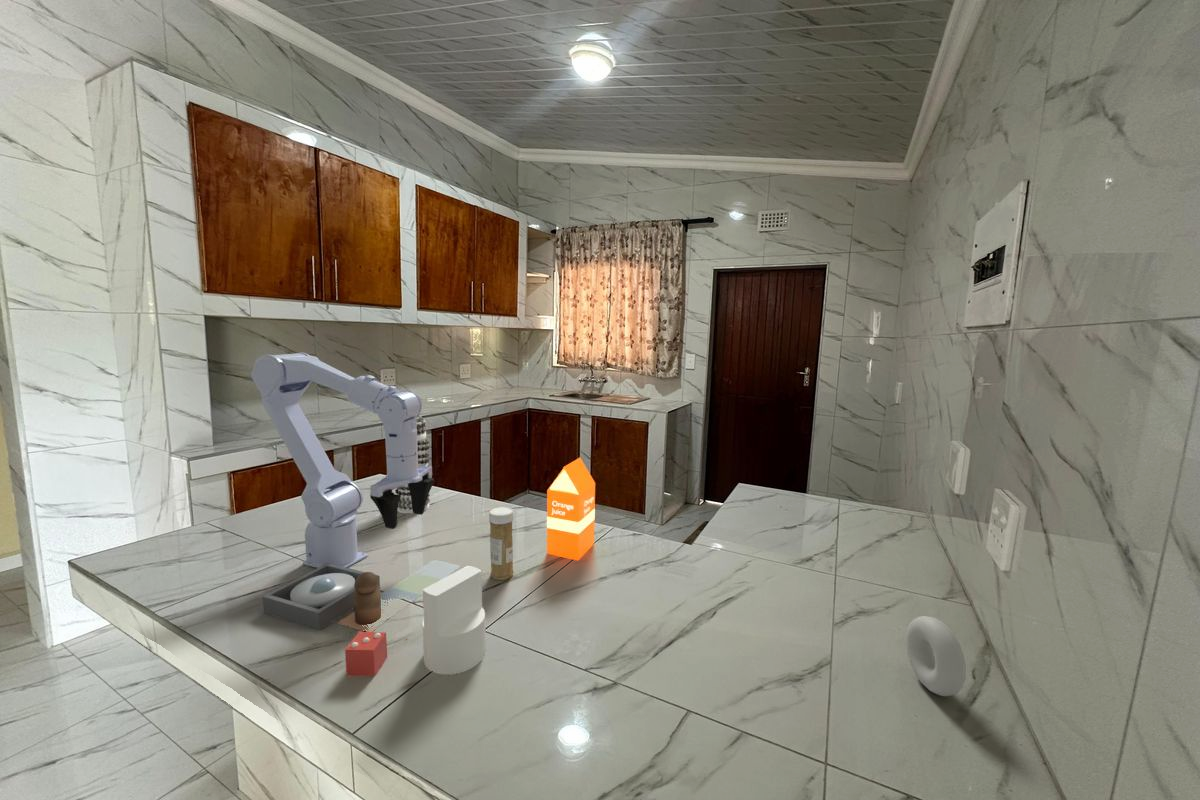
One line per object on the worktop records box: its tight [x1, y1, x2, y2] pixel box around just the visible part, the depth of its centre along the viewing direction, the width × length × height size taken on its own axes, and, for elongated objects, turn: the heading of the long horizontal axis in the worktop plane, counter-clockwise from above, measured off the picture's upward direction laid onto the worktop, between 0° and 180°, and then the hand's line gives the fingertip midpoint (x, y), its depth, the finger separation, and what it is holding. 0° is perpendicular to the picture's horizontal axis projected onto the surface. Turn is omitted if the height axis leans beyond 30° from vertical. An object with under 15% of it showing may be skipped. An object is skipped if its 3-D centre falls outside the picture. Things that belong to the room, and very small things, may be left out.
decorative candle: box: [394, 414, 431, 514], centre depth 130 cm, size 9×9×25 cm
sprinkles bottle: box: [488, 506, 514, 581], centre depth 97 cm, size 5×5×14 cm
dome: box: [290, 573, 355, 609], centre depth 87 cm, size 10×10×4 cm
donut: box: [905, 615, 967, 697], centre depth 69 cm, size 10×4×10 cm, turn 179°
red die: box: [344, 631, 388, 677], centre depth 71 cm, size 4×4×4 cm
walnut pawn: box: [353, 571, 381, 625], centre depth 82 cm, size 4×4×8 cm
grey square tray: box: [261, 563, 381, 631], centre depth 87 cm, size 13×13×3 cm
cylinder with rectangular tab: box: [422, 565, 487, 676], centre depth 74 cm, size 9×9×12 cm
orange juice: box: [546, 457, 596, 561], centre depth 108 cm, size 8×9×20 cm
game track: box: [337, 559, 462, 632], centre depth 91 cm, size 7×24×1 cm, turn 160°
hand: (405, 520), depth 98 cm, fingers open, 7 cm apart
